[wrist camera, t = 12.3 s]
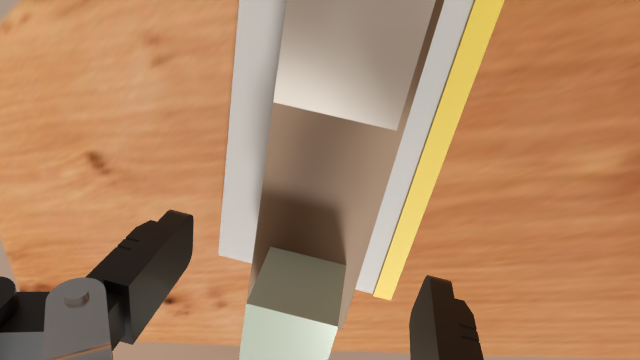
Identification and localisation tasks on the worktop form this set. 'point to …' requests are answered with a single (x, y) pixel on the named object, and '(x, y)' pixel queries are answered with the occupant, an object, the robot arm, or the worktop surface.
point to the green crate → (293, 308)
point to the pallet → (328, 183)
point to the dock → (415, 147)
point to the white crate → (351, 57)
